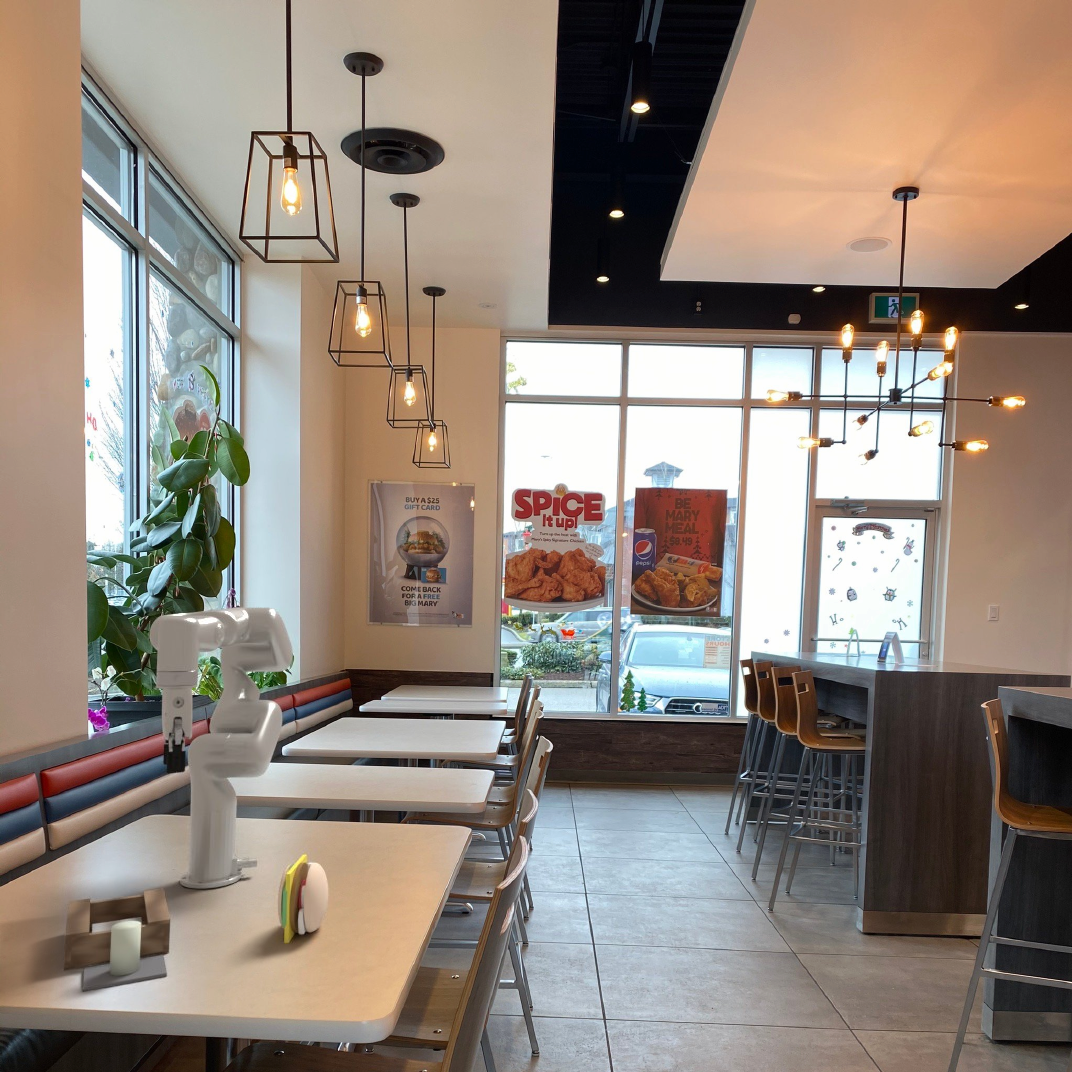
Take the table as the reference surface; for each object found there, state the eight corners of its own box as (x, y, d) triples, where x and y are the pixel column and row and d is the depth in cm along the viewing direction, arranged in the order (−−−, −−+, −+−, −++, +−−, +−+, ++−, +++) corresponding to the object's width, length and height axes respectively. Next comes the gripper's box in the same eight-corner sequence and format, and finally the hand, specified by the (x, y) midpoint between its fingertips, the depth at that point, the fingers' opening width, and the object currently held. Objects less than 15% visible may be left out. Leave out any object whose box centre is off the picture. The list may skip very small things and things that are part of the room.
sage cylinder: (140, 963, 141) (142, 919, 142) (138, 973, 137) (139, 928, 138) (111, 966, 139) (113, 922, 140) (107, 977, 135) (109, 931, 136)
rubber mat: (163, 958, 144) (163, 954, 144) (166, 976, 137) (166, 973, 137) (83, 971, 139) (84, 968, 139) (82, 991, 132) (83, 988, 132)
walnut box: (162, 918, 162) (163, 888, 163) (169, 952, 146) (170, 919, 147) (67, 932, 155) (69, 901, 156) (63, 970, 139) (65, 935, 140)
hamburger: (318, 943, 151) (319, 874, 152) (271, 943, 151) (273, 874, 152) (332, 918, 163) (334, 854, 164) (289, 918, 163) (291, 854, 164)
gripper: (202, 682, 161) (198, 774, 159) (193, 675, 176) (190, 759, 175) (159, 684, 157) (155, 778, 156) (153, 677, 173) (150, 762, 171)
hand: (173, 768), depth 165 cm, fingers open, 9 cm apart
